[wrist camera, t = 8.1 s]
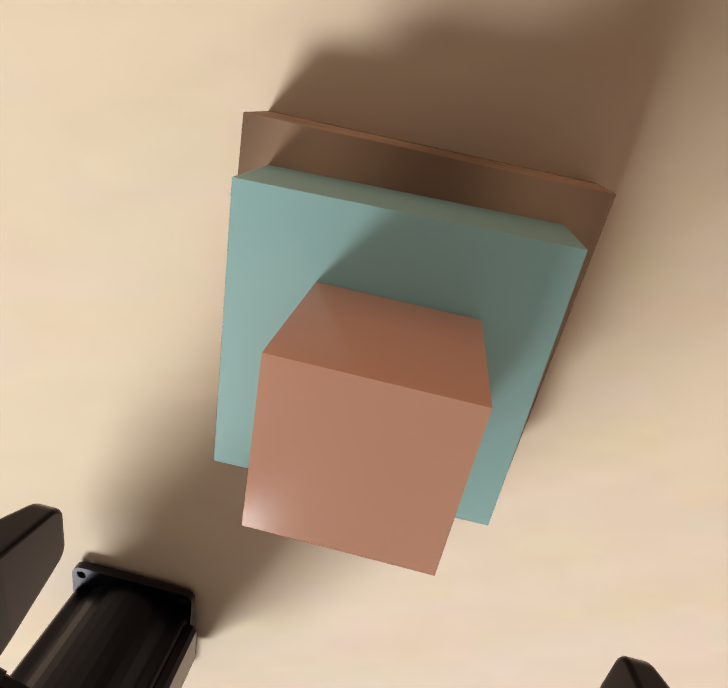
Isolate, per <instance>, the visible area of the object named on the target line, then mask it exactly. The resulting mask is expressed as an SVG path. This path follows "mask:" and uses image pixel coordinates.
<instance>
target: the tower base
mask: <svg viewBox="0 0 728 688" xmlns="http://www.w3.org/2000/svg"><path fill="white" fill-rule="evenodd" d="M266 165H272V166H277V167H282V168H287V169H292V170H297V171H302V172H307V173H312V174H317V175H322V176H326V177H331V178H336V179H341V180H346V181H351V182H356V183H361V184H366V185H371V186H376V187H381V188H386V189H390V190H395V191H400V192H405V193H410V194H415V195H420V196H425V197H430V198H435V199H440V200H445V201H450V202H454V203H459V204H464V205H469V206H474V207H479V208H484V209H489V210H494V211H499V212H504V213H509V214H514V215H518V216H523V217H528V218H533V219H538V220H543V221H548V222H553V223H558V224H563V225H565V226H566V228H567V229H568V230H569V231H570V232H571V233H572V234H573V235H574V236H575V237H576V238H577V239H578V240H579V241H580V242H581V243H582V245H583V246H584V247H585V248H586V249H587V250H588V251H587V254H586V256H585V259H584V262H583V265H582V267H581V270H580V273H579V276H578V278H577V281H576V284H575V287H574V289H573V292H572V295H571V298H570V301H569V303H568V306H567V309H566V312H565V314H564V317H563V320H562V323H561V325H560V328H559V331H558V334H557V336H556V339H555V342H554V345H553V347H552V350H551V353H550V356H549V358H548V361H547V364H546V367H545V370H544V372H543V375H542V378H541V381H540V383H539V386H538V389H537V392H536V394H535V397H534V400H533V403H532V405H531V408H530V411H529V414H528V416H527V419H526V422H525V425H524V427H523V430H522V433H523V431H524V428H525V426H526V423H527V421H528V418H529V415H530V413H531V410H532V408H533V405H534V403H535V400H536V397H537V395H538V392H539V390H540V387H541V385H542V382H543V380H544V377H545V374H546V372H547V369H548V367H549V364H550V362H551V359H552V356H553V354H554V351H555V349H556V346H557V344H558V341H559V339H560V336H561V333H562V331H563V328H564V326H565V323H566V321H567V318H568V316H569V313H570V310H571V308H572V305H573V303H574V300H575V298H576V295H577V292H578V290H579V287H580V285H581V282H582V280H583V277H584V275H585V272H586V269H587V267H588V264H589V262H590V259H591V257H592V254H593V251H594V249H595V246H596V244H597V241H598V239H599V236H600V234H601V231H602V228H603V226H604V223H605V221H606V218H607V216H608V213H609V210H610V208H611V205H612V203H613V200H614V198H615V195H616V194H614V193H612V192H610V191H608V190H606V189H605V188H603V187H601V186H599V185H597V184H596V183H592V182H588V181H583V180H578V179H574V178H569V177H565V176H560V175H556V174H551V173H547V172H542V171H538V170H533V169H529V168H524V167H520V166H515V165H511V164H506V163H501V162H497V161H492V160H488V159H483V158H479V157H474V156H470V155H465V154H461V153H456V152H452V151H447V150H443V149H438V148H433V147H429V146H424V145H420V144H415V143H411V142H406V141H402V140H397V139H393V138H388V137H384V136H379V135H375V134H370V133H365V132H361V131H356V130H352V129H347V128H343V127H338V126H334V125H329V124H325V123H320V122H316V121H311V120H307V119H302V118H298V117H293V116H288V115H284V114H279V113H275V112H270V111H259V112H244V113H243V124H242V135H241V146H240V157H239V169H238V175H240V174H243V173H246V172H248V171H251V170H254V169H257V168H260V167H263V166H266ZM216 419H217V415H216ZM522 433H521V436H522ZM521 436H520V438H521ZM519 441H520V439H519ZM519 441H518V444H519ZM518 444H517V446H518ZM516 449H517V447H516ZM515 451H516V450H515ZM514 454H515V452H514ZM513 456H514V455H513ZM512 459H513V458H512ZM511 462H512V461H511ZM510 464H511V463H510ZM509 467H510V466H509Z"/></svg>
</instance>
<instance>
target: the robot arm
mask: <svg viewBox="0 0 728 688" xmlns="http://www.w3.org/2000/svg"><path fill="white" fill-rule="evenodd" d="M63 550H64V533H63V519H62V513H61V511H60V510H59V509H57V508H54V507H50V506H46V505H42V504H32V505H29V506H27V507H25V508H22V509H20V510H18V511H16V512H14V513H12V514H9V515H7V516H5V517H3V518H1V519H0V655H1V654H2V652H3V651H4V649H5V648H6V646H7V645H8V643H9V642H10V640H11V639H12V637H13V635H14V634H15V632H16V630H17V629H18V627H19V626H20V624H21V622H22V621H23V619H24V617H25V616H26V614H27V613H28V611H29V609H30V608H31V606H32V604H33V603H34V601H35V600H36V598H37V596H38V595H39V593H40V591H41V590H42V588H43V587H44V585H45V583H46V582H47V580H48V578H49V577H50V575H51V574H52V572H53V570H54V569H55V567H56V566H57V564H58V562H59V560H60V558H61V556H62V554H63ZM72 576H73V592H74V593H73V594H72V595H71V597H70V598H69V599H68V601H67V602H66V603H65V605H64V606H63V607H62V608H61V610H60V611H59V612H58V614H57V615H56V616H55V618H54V619H53V620H52V622H51V623H50V624H49V625H48V627H47V628H46V629H45V631H44V632H43V633H42V635H41V636H40V637H39V639H38V640H37V641H36V642H35V644H34V645H33V646H32V648H31V649H30V650H29V652H28V653H27V654H26V656H25V657H24V658H23V659H22V661H21V662H20V663H19V665H18V666H17V667H16V669H15V670H14V671H13V673H12V674H11V675H10V676H9V675H8V674H6V672H7V671H6V670H4V669H2V668H1V667H0V688H182V685H183V683H184V681H185V679H186V677H187V674H188V672H189V670H190V668H191V666H192V663H193V661H194V659H195V648H196V637H197V630H196V627H195V625H193V616H194V603H195V595H194V594H193V592H191V591H190V590H188V589H186V588H182V587H178V586H174V585H170V584H167V583H163V582H159V581H155V580H152V579H148V578H144V577H140V576H136V575H133V574H129V573H125V572H121V571H118V570H114V569H110V568H106V567H102V566H99V565H95V564H91V563H87V562H79V563H78V564H77V565H76V567H75V568H74V569H73V571H72ZM600 688H670V687H669V686H668V685H667V684H666V682H665V681H664V680H663V678H662V677H661V676H660V675H659V673H658V672H657V671H656V670H655V668H654V667H653V666H652V665H650V664H649V663H648V662H645V661H642V660H639V659H635V658H631V657H627V656H622V657H620V658H618V659H617V660H616V662H615V664H614V665H613V667H612V668H611V670H610V672H609V673H608V675H607V677H606V678H605V680H604V681H603V683H602V685H601V687H600Z"/></svg>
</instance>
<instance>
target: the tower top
mask: <svg viewBox="0 0 728 688" xmlns="http://www.w3.org/2000/svg"><path fill="white" fill-rule="evenodd" d="M587 251H588V250H587V249H586V248H585V247H584V246H583V245H582V243H581V242H580V241H579V240H578V239H577V238H576V237H575V236H574V235H573V234H572V233H571V232H570V231H569V230H568V229H567V228H566V226H565V225H563V224H558V223H553V222H548V221H543V220H538V219H533V218H528V217H523V216H518V215H514V214H509V213H504V212H499V211H494V210H489V209H484V208H479V207H474V206H469V205H464V204H459V203H454V202H450V201H445V200H440V199H435V198H430V197H425V196H420V195H415V194H410V193H405V192H400V191H395V190H390V189H386V188H381V187H376V186H371V185H366V184H361V183H356V182H351V181H346V180H341V179H336V178H331V177H326V176H322V175H317V174H312V173H307V172H302V171H297V170H292V169H287V168H282V167H277V166H272V165H266V166H263V167H260V168H257V169H254V170H251V171H248V172H246V173H243V174H240V175H237V176H234V177H232V188H231V203H230V218H229V234H228V249H227V265H226V280H225V296H224V311H223V326H222V342H221V357H220V373H219V388H218V404H217V419H216V435H215V450H214V461H218V462H223V463H227V464H231V465H235V466H240V467H244V468H248V467H249V458H250V449H251V441H252V432H253V424H254V415H255V406H256V398H257V389H258V380H259V372H260V363H261V355H262V352H263V350H264V349H265V348H266V346H267V345H268V344H269V342H270V341H271V340H272V338H273V337H274V336H275V335H276V333H277V332H278V331H279V329H280V328H281V327H282V325H283V324H284V323H285V321H286V320H287V319H288V318H289V316H290V315H291V314H292V312H293V311H294V310H295V308H296V307H297V306H298V304H299V303H300V302H301V301H302V299H303V298H304V297H305V295H306V294H307V293H308V291H309V290H310V289H311V287H312V286H313V285H314V284H315V282H320V283H325V284H329V285H333V286H338V287H342V288H346V289H351V290H355V291H359V292H364V293H368V294H372V295H376V296H381V297H385V298H389V299H394V300H398V301H402V302H407V303H411V304H415V305H420V306H424V307H428V308H432V309H437V310H441V311H445V312H450V313H454V314H458V315H463V316H467V317H471V318H476V319H480V320H482V328H483V336H484V344H485V352H486V361H487V369H488V377H489V385H490V393H491V401H492V411H491V414H490V417H489V419H488V422H487V425H486V428H485V431H484V434H483V437H482V440H481V443H480V446H479V448H478V451H477V454H476V457H475V460H474V463H473V466H472V469H471V472H470V475H469V477H468V480H467V483H466V486H465V489H464V492H463V495H462V498H461V501H460V504H459V506H458V509H457V512H456V515H455V518H459V519H464V520H468V521H472V522H476V523H480V524H485V525H488V524H489V521H490V519H491V516H492V513H493V510H494V507H495V505H496V502H497V499H498V496H499V494H500V491H501V488H502V485H503V483H504V480H505V477H506V474H507V472H508V469H509V466H510V463H511V461H512V458H513V455H514V452H515V450H516V447H517V444H518V441H519V439H520V436H521V433H522V430H523V427H524V425H525V422H526V419H527V416H528V414H529V411H530V408H531V405H532V403H533V400H534V397H535V394H536V392H537V389H538V386H539V383H540V381H541V378H542V375H543V372H544V370H545V367H546V364H547V361H548V358H549V356H550V353H551V350H552V347H553V345H554V342H555V339H556V336H557V334H558V331H559V328H560V325H561V323H562V320H563V317H564V314H565V312H566V309H567V306H568V303H569V301H570V298H571V295H572V292H573V289H574V287H575V284H576V281H577V278H578V276H579V273H580V270H581V267H582V265H583V262H584V259H585V256H586V254H587Z"/></svg>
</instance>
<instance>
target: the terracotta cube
mask: <svg viewBox="0 0 728 688" xmlns="http://www.w3.org/2000/svg"><path fill="white" fill-rule="evenodd" d="M491 411H492V401H491V393H490V385H489V377H488V369H487V361H486V352H485V344H484V336H483V328H482V320H480V319H476V318H471V317H467V316H463V315H458V314H454V313H450V312H445V311H441V310H437V309H432V308H428V307H424V306H420V305H415V304H411V303H407V302H402V301H398V300H394V299H389V298H385V297H381V296H376V295H372V294H368V293H364V292H359V291H355V290H351V289H346V288H342V287H338V286H333V285H329V284H325V283H320V282H315V284H314V285H313V286H312V287H311V289H310V290H309V291H308V293H307V294H306V295H305V297H304V298H303V299H302V301H301V302H300V303H299V304H298V306H297V307H296V308H295V310H294V311H293V312H292V314H291V315H290V316H289V318H288V319H287V320H286V321H285V323H284V324H283V325H282V327H281V328H280V329H279V331H278V332H277V333H276V335H275V336H274V337H273V338H272V340H271V341H270V342H269V344H268V345H267V346H266V348H265V349H264V350H263V352H262V355H261V363H260V372H259V380H258V389H257V398H256V406H255V415H254V424H253V432H252V441H251V449H250V458H249V467H248V475H247V484H246V493H245V501H244V510H243V518H242V525H243V526H247V527H250V528H254V529H258V530H262V531H266V532H270V533H273V534H277V535H281V536H285V537H289V538H293V539H296V540H300V541H304V542H308V543H312V544H315V545H319V546H323V547H327V548H331V549H335V550H338V551H342V552H346V553H350V554H354V555H357V556H361V557H365V558H369V559H373V560H377V561H380V562H384V563H388V564H392V565H396V566H399V567H403V568H407V569H411V570H415V571H419V572H422V573H426V574H430V575H434V576H435V573H436V570H437V567H438V564H439V561H440V559H441V556H442V553H443V550H444V547H445V544H446V541H447V538H448V535H449V532H450V530H451V527H452V524H453V521H454V518H455V515H456V512H457V509H458V506H459V504H460V501H461V498H462V495H463V492H464V489H465V486H466V483H467V480H468V477H469V475H470V472H471V469H472V466H473V463H474V460H475V457H476V454H477V451H478V448H479V446H480V443H481V440H482V437H483V434H484V431H485V428H486V425H487V422H488V419H489V417H490V414H491Z"/></svg>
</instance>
